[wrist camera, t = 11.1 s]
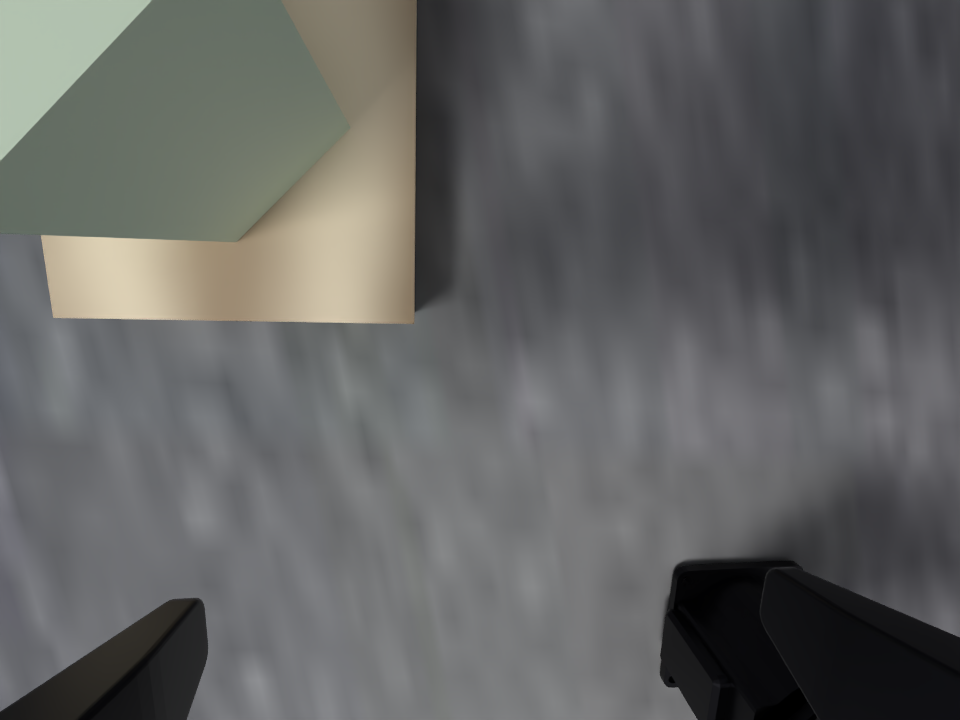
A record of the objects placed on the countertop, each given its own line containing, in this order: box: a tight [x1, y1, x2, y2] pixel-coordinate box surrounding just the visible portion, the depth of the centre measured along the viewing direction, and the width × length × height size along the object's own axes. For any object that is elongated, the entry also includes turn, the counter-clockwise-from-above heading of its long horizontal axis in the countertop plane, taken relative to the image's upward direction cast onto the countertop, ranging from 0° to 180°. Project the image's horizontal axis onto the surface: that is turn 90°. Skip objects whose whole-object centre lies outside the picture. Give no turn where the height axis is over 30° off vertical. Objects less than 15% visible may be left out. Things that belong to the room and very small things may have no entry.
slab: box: [41, 0, 417, 324], centre depth 16 cm, size 11×12×3 cm
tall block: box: [0, 0, 350, 242], centre depth 10 cm, size 5×5×10 cm
